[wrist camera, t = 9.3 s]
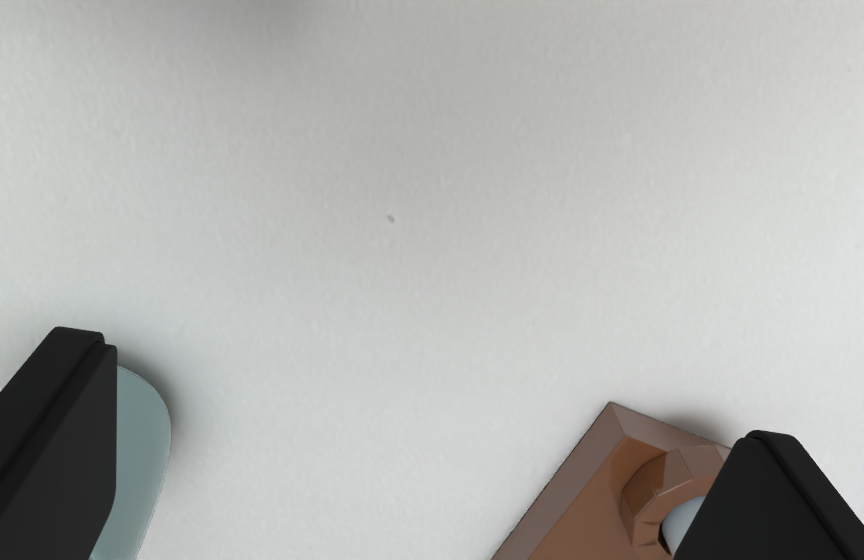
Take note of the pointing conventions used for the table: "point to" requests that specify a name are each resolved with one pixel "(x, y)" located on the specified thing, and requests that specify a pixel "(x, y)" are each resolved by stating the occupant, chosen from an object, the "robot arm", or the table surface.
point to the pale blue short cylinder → (679, 522)
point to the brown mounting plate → (616, 492)
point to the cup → (135, 466)
